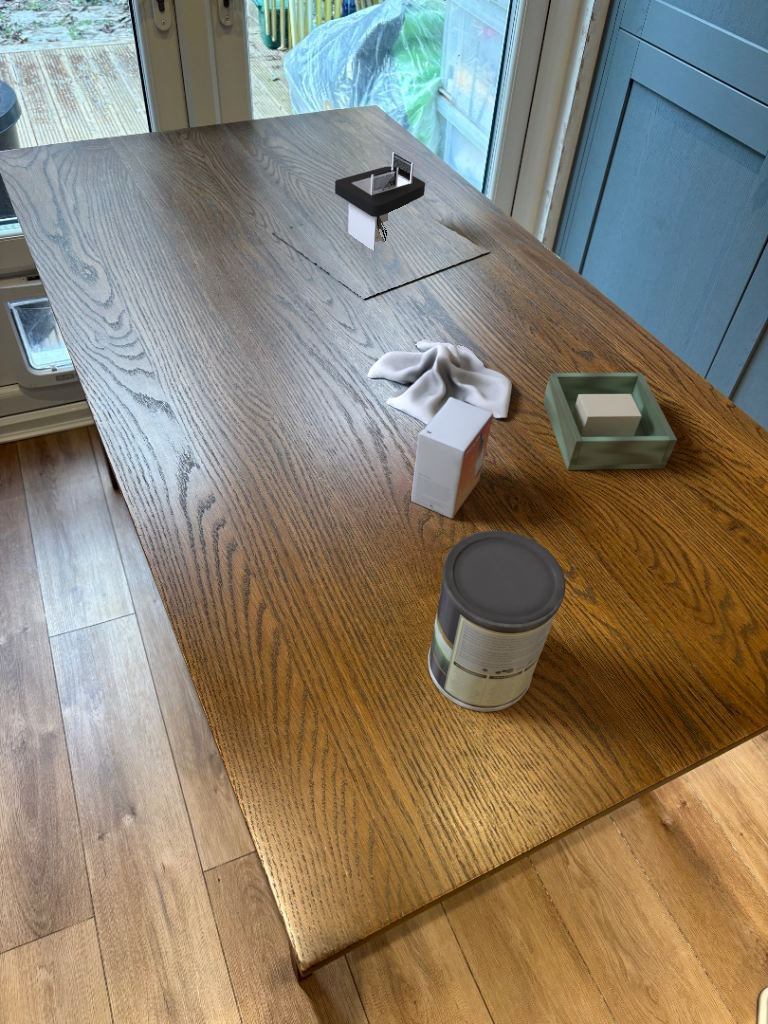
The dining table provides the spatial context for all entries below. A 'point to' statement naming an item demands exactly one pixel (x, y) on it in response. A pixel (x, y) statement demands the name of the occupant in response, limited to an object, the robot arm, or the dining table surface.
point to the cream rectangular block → (606, 415)
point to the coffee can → (493, 618)
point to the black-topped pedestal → (377, 198)
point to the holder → (608, 452)
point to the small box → (450, 456)
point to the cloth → (442, 380)
